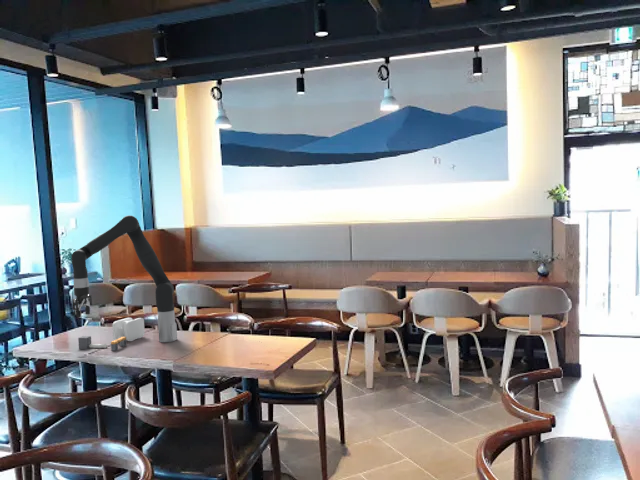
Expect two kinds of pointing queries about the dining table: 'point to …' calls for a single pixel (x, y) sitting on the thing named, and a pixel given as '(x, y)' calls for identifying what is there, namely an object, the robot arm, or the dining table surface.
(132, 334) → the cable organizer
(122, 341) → the tie bracket
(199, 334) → the dining table surface
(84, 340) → the lead
